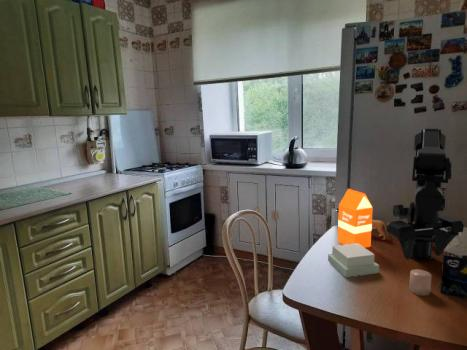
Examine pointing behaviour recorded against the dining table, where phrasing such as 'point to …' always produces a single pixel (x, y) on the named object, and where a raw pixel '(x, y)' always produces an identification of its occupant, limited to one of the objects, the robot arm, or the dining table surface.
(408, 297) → the dining table surface
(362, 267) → the sage slab
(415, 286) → the pale pink cylinder
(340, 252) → the cream slab
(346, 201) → the orange juice
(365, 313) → the dining table surface
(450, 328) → the dining table surface
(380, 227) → the lion figurine
